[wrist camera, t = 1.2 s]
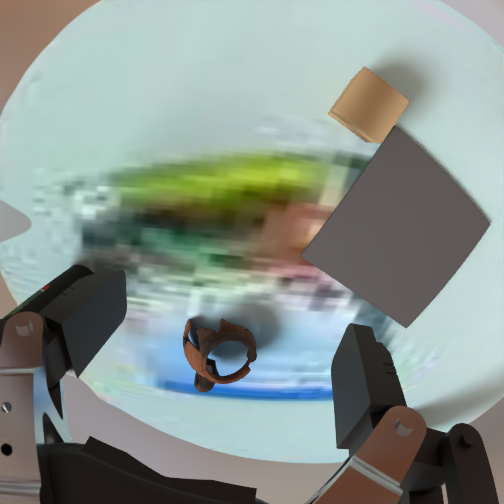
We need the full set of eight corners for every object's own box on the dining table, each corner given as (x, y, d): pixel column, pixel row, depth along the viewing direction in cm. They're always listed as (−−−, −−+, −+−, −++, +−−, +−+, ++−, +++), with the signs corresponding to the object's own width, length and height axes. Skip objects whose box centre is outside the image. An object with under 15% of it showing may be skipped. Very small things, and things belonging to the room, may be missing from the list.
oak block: (389, 107, 26) (409, 101, 21) (365, 142, 28) (381, 143, 22) (351, 79, 26) (364, 66, 20) (327, 114, 28) (334, 108, 22)
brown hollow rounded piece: (186, 297, 39) (199, 325, 31) (249, 306, 43) (274, 332, 35) (170, 370, 40) (181, 406, 33) (229, 373, 44) (248, 406, 37)
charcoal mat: (488, 223, 28) (490, 224, 28) (405, 326, 35) (406, 328, 35) (393, 126, 27) (395, 126, 26) (300, 254, 34) (301, 256, 33)
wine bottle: (97, 316, 42) (-18, 450, 14) (63, 289, 41) (-60, 402, 14) (108, 284, 39) (-33, 431, 11) (72, 255, 38) (-78, 372, 11)
